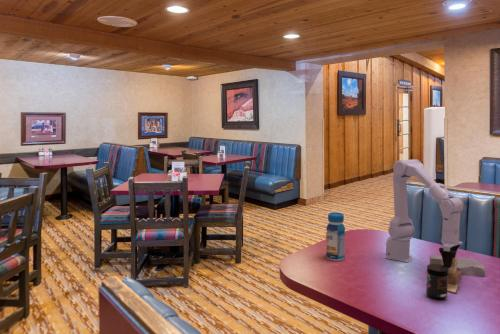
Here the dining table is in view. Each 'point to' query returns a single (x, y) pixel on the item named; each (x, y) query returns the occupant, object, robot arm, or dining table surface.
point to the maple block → (452, 266)
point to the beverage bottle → (335, 237)
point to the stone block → (470, 267)
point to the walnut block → (454, 278)
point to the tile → (453, 288)
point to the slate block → (435, 259)
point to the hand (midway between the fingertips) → (449, 264)
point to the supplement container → (437, 281)
